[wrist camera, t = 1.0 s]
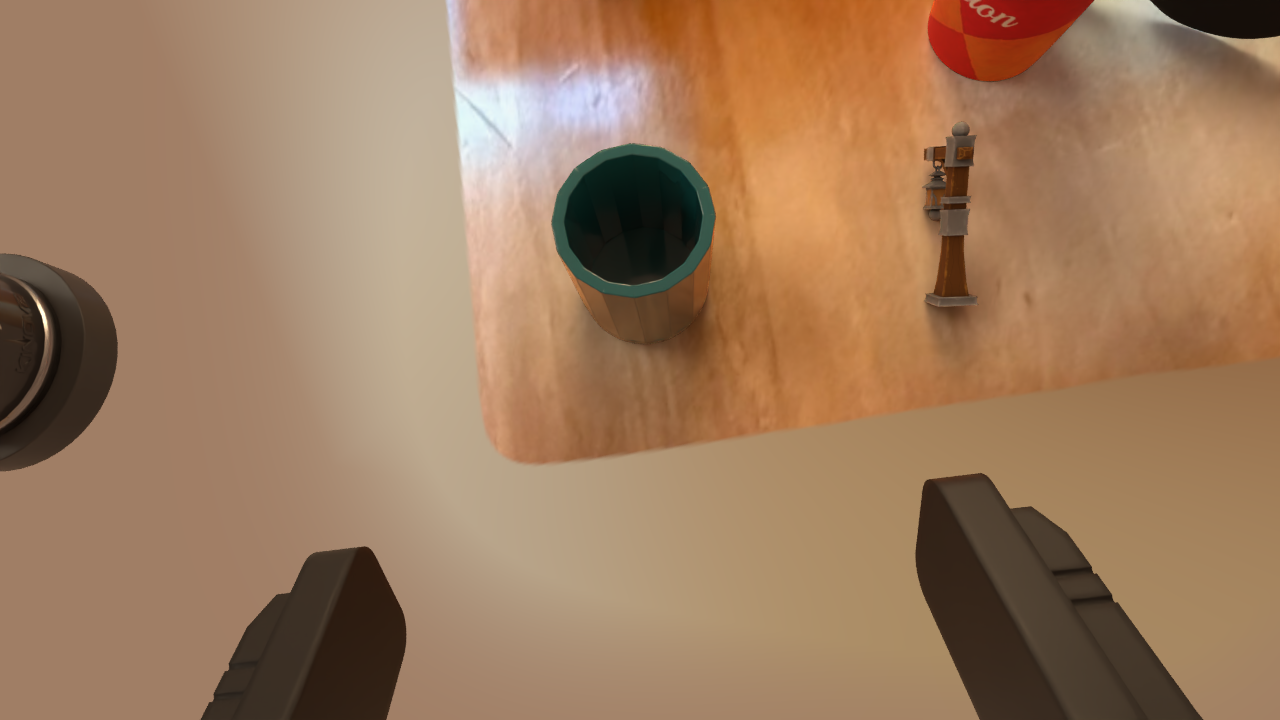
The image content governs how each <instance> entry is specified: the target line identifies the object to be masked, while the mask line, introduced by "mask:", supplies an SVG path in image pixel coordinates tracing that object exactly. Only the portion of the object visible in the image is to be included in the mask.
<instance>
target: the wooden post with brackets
mask: <svg viewBox="0 0 1280 720" xmlns="http://www.w3.org/2000/svg"><path fill="white" fill-rule="evenodd" d="M969 131H970V127H969V125H968V124H967V123H966V122H958V123H956V124H955V125H954V126H953V128H952V134H953V136H950V137H946V142H947V145H946V146H941V147H928V148H927V149H924V160H928V161H933V167H934V168H935V172H933V173H932V174H930V175H929V176H934V178H932V179H931V180H932V181H931V182H930V183H928V184H927V185H924V186H922V188H926V191H927V193H926V202H925V206H924V208H923V209H931V210H930V212H929V217H930V219H931V220H933V221H938V220H940V231H939V234H938V235H942V246H941V255H940V262H939V269H938V275H937V281H936V285H935V289H934V293H929V294H926V299H925V302H927V303H930V304H932V305H935V306H937V307H941V306H966V305H978V304H977V296H973V295H970V294H969V293H968V288H967V283H966V273H965V261H964V235H968V231H967V224H968V215H969V211H970V209H966V203H971V202H970V198H971V196H967V189H968V176H969V166H974V163H973V155H974V144H975V139H976V136H977V135H972V136H967V135H968V133H969ZM935 161H939V162H941V166H940V167H939V166H937V167H936V166H935ZM941 167H943V169H944V171H945V173H943V172H941V171H940V168H941ZM937 169H938V171H937ZM943 175H946V176H947V179H946V182H944V181H943V179H944V178H942V177H940V176H943ZM941 209H943V210H941Z"/></svg>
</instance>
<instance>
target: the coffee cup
mask: <svg viewBox="0 0 1280 720" xmlns="http://www.w3.org/2000/svg"><path fill="white" fill-rule="evenodd" d="M1093 1H1094V0H934V3H933V6H932V9H931V12H930V16H929V21H928V35H929V40H930V43H931V46H932V48H933V50H934V52H935V53H936V55H937V56H938V57H939V59H940V60H941V61H942V62H943V63H944V64H945V65H946V66H947V67H949V68H950V69H952V70H953V71H955V72H956V73H958V74H960V75H962V76H965V77H968V78H971V79H975V80H981V81H999V80H1004V79H1008V78H1011V77H1014V76H1016V75H1018V74H1020V73H1022V72H1024V71H1025V70H1027V69H1028V68H1029V67H1030V66H1032V65H1033V64H1034V63H1035V62H1036V61H1037V60H1038V59H1039V58H1040V57H1041V56H1042V55H1043V54H1044V53H1045V52H1046V51H1047V50H1048V49H1049V48H1050V47H1051V46H1052V45H1053V44H1054V43H1055V42H1056V41H1057V40H1058V39H1059V38H1060V37H1061V36H1062V34H1063V33H1064V32H1065V31H1066V30H1067V29H1068V28H1069V27H1070V26H1071V25H1072V24H1073V23H1074V22H1075V21H1076V19H1077V18H1078V17H1079V16H1080V15H1081V14H1082V13H1083V12H1084V11H1085V10H1086V9H1087V8H1088V7H1089V6H1090V4H1091V3H1092V2H1093Z"/></svg>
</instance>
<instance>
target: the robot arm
mask: <svg viewBox="0 0 1280 720" xmlns="http://www.w3.org/2000/svg"><path fill="white" fill-rule="evenodd" d="M60 355H61V330H60V325H59V321H58V318H57V315H56V313H55V310H54V308H53V307H52V305H51V303H50V302H49V300H48V299H47V298H46V296H45V295H44V294H43V293H42V292H41V291H40V290H38V289H37V288H36V287H35V286H33V285H31V284H30V283H28V282H26V281H24V280H22V279H19V278H16V277H13V276H10V275H7V274H4V273H1V272H0V435H2V434H4V433H6V432H7V431H9V430H11V429H12V428H14V427H15V426H17V425H18V424H19V423H21V422H22V421H23V420H24V419H25V418H26V417H27V416H28V415H29V414H30V413H31V412H32V411H33V410H34V409H35V408H36V407H37V406H38V404H39V403H40V402H41V400H42V399H43V397H44V396H45V394H46V393H47V391H48V389H49V388H50V385H51V383H52V381H53V379H54V377H55V374H56V371H57V368H58V364H59V360H60ZM916 567H917V573H918V578H919V582H920V586H921V589H922V592H923V595H924V597H925V599H926V601H927V604H928V606H929V608H930V610H931V613H932V615H933V617H934V619H935V622H936V624H937V626H938V628H939V630H940V633H941V635H942V637H943V639H944V641H945V644H946V646H947V648H948V650H949V652H950V655H951V657H952V659H953V661H954V663H955V666H956V668H957V670H958V672H959V675H960V677H961V679H962V681H963V683H964V686H965V688H966V690H967V692H968V695H969V697H970V699H971V701H972V703H973V705H974V708H975V710H976V712H977V714H978V717H979V719H980V720H1203V719H1202V717H1201V716H1200V715H1199V714H1198V713H1197V712H1196V710H1195V709H1194V707H1193V706H1192V704H1191V703H1190V702H1189V700H1188V699H1187V697H1186V696H1185V695H1184V693H1183V692H1182V691H1181V689H1180V688H1179V686H1178V685H1177V684H1176V682H1175V681H1174V679H1173V678H1172V677H1171V675H1170V674H1169V673H1168V671H1167V670H1166V668H1165V667H1164V666H1163V664H1162V663H1161V662H1160V660H1159V659H1158V657H1157V656H1156V655H1155V653H1154V652H1153V650H1152V649H1151V648H1150V646H1149V645H1148V644H1147V642H1146V641H1145V639H1144V638H1143V637H1142V635H1141V634H1140V633H1139V631H1138V630H1137V628H1136V627H1135V626H1134V624H1133V623H1132V621H1131V620H1130V619H1129V617H1128V616H1127V615H1126V613H1125V612H1124V610H1123V609H1122V608H1121V606H1120V605H1119V604H1118V603H1115V602H1114V601H1113V598H1112V594H1111V593H1110V591H1109V590H1108V589H1107V587H1106V586H1105V584H1104V583H1103V581H1102V580H1101V579H1100V577H1099V576H1098V575H1097V574H1094V573H1093V571H1092V567H1091V565H1090V564H1089V562H1088V561H1087V560H1086V558H1085V557H1084V555H1083V554H1082V553H1081V551H1080V550H1079V548H1078V547H1077V546H1076V544H1075V543H1074V541H1073V540H1072V539H1071V538H1070V536H1069V535H1068V534H1067V532H1065V531H1064V530H1063V529H1061V528H1060V527H1058V526H1057V525H1056V524H1054V523H1053V522H1052V521H1050V520H1049V519H1048V518H1046V517H1045V516H1044V515H1042V514H1041V513H1039V512H1038V511H1037V510H1035V509H1034V508H1033V507H1021V508H1013V509H1010V508H1009V507H1008V505H1007V504H1006V502H1005V500H1004V499H1003V497H1002V496H1001V494H1000V493H999V491H998V490H997V488H996V487H995V485H994V484H993V482H992V481H991V480H990V479H989V478H988V477H987V476H986V475H984V474H982V473H978V474H971V475H962V476H954V477H946V478H937V479H929V480H927V481H926V482H925V483H924V486H923V491H922V500H921V509H920V518H919V527H918V535H917V544H916ZM405 647H406V624H405V618H404V614H403V611H402V609H401V607H400V605H399V603H398V601H397V599H396V597H395V595H394V593H393V591H392V589H391V587H390V585H389V583H388V581H387V579H386V577H385V575H384V573H383V571H382V569H381V567H380V565H379V563H378V560H377V559H376V557H375V555H374V553H373V552H372V550H371V549H369V548H368V547H357V548H348V549H340V550H332V551H324V552H316V553H313V554H312V555H310V556H309V557H308V558H307V560H306V561H305V563H304V565H303V567H302V569H301V571H300V573H299V575H298V578H297V580H296V582H295V584H294V586H293V588H292V590H291V592H290V593H286V594H278V595H276V596H275V597H274V598H273V599H272V601H271V602H270V603H269V604H268V605H267V606H266V607H265V608H264V609H263V610H262V611H261V613H260V614H259V615H258V616H257V617H256V618H255V619H254V620H253V621H252V623H251V624H250V625H249V626H248V627H247V629H246V631H245V632H244V635H243V636H242V639H241V640H240V642H239V644H238V647H237V648H236V650H235V652H234V654H233V656H232V658H231V660H230V662H229V670H228V671H225V673H224V675H223V676H222V678H221V680H220V682H219V684H218V686H217V688H216V690H215V692H214V700H213V702H209V704H208V706H207V708H206V710H205V712H204V714H203V716H202V718H201V720H386V719H387V715H388V712H389V707H390V704H391V701H392V697H393V693H394V689H395V686H396V682H397V679H398V675H399V671H400V668H401V664H402V661H403V657H404V653H405Z"/></svg>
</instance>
